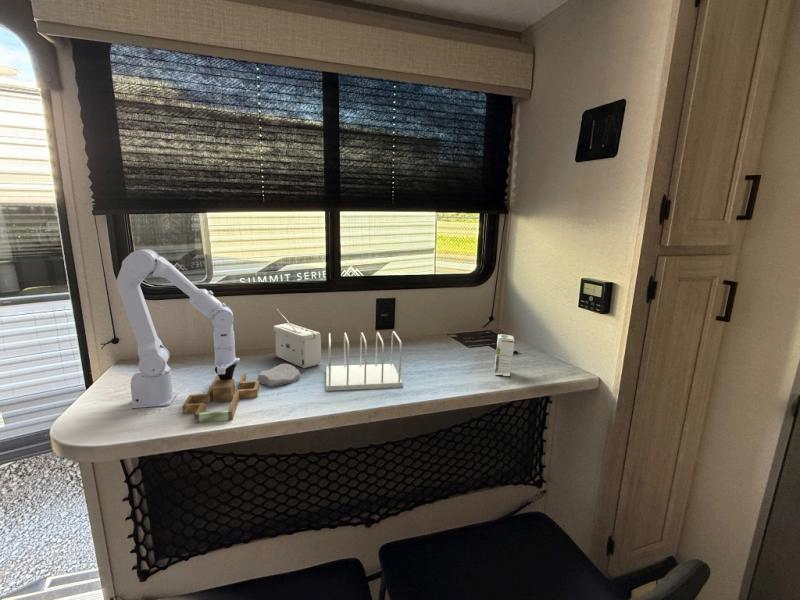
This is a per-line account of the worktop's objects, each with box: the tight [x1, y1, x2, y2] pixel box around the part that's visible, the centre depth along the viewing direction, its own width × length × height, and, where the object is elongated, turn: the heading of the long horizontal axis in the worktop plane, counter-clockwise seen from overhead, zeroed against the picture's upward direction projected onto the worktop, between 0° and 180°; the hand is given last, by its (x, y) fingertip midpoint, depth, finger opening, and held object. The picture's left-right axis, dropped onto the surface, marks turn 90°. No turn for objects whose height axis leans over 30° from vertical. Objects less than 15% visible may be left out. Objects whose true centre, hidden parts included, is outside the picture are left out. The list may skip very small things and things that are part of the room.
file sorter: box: [325, 330, 403, 392], centre depth 127 cm, size 25×17×16 cm
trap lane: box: [181, 373, 261, 424], centre depth 110 cm, size 18×27×2 cm
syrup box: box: [494, 333, 515, 374], centre depth 135 cm, size 6×6×14 cm
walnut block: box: [212, 378, 236, 404], centre depth 110 cm, size 5×6×4 cm
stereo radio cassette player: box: [272, 308, 322, 369], centre depth 141 cm, size 21×8×20 cm, turn 50°
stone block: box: [257, 363, 301, 388], centre depth 125 cm, size 12×5×10 cm
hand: (227, 387), depth 115 cm, fingers closed
